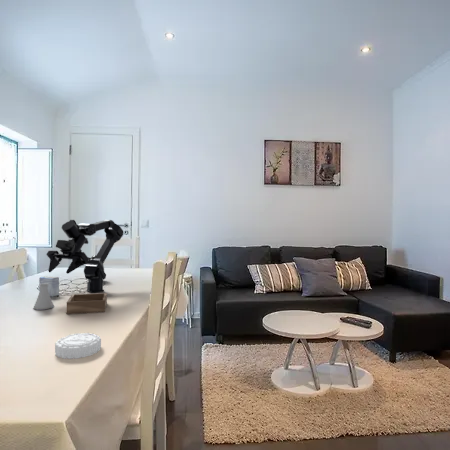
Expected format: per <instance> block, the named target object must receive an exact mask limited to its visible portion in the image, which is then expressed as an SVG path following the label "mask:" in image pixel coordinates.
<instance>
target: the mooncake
mask: <svg viewBox="0 0 450 450" xmlns="http://www.w3.org/2000/svg"><path fill="white" fill-rule="evenodd" d="M101 348H102V338H101V337H100V335H98V334H94V333H90V332H84V333H79V332H78V333H76V332H75V333H72V334H68V335H66V336H63V337H61V338H59V339H57V340H56V342H55V343H54V353H55V356H57V358H61V359H67V360H73V359H82V358H86V357H89V356H93V355H94V354H97V353H98V352H99V351H100V350H101Z"/></svg>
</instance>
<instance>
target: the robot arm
mask: <svg viewBox="0 0 450 450" xmlns="http://www.w3.org/2000/svg"><path fill="white" fill-rule="evenodd" d="M61 230H62V231H63V232H64V234H65V235H66V236H67V238H69V239H68V240H66V239H57V242H56V244H55V248H57V249H60V251H58V250H52V249H51V250H48V251H47V253H46V256H47V258H49V265H48V269H47V270H48V272H49V273H52V271H54V269H56V268H57V267H58V266H59V265H60V264H61V262H62V260H64V259H65V260H71V262H70V264H69V266H68V267H67V269H66V275H67V274H68V275H69V274H70V273H71V272H73V271H75V270H76V269H79V268H80V267H82V266H84V269H83V274H84V278H85V279H86V280H87V282H86V284H87V285H86V286H87V287H86V291H87V292H89V293H91V294H94V293H101V292H104V291H105V289H104V288H103V287H104V280H105V279H106V278H107V274H106V272H105V266H104V263H105V261H106V260H107V258H108V255H109V254H110V252H111V250H112V248H113V247H114V245H115V244H116V243H117V242H119V241H120V240H121V238H123V236H124V233H125V232H124V230H123V228H122V227H121V226H120V225H119V224H117V223H116V222H115V221H114V220H112V219H104V220H101V221H98V222H97V221H96V222H92V223H79V224H77V223H76V221H75V219H70V220H69V221H67V222H65V223H63V224H62V225H61ZM102 230H103V232H104V233H105V240H104V242H103V243H102V245H101V247H100V249H99V250H98V251H97V254H95V255H96V257H95V259H94V260H89V258H90V257H89V258H88V255H87V254H86V252H84V251H83V249H82V248H83V246H84V245H88V244H89V239H88V238H87V237H90V236H93V235H95V234H96V233H97V232H98V231H102ZM60 252H61V253H60ZM103 269H104V271H103Z"/></svg>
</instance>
